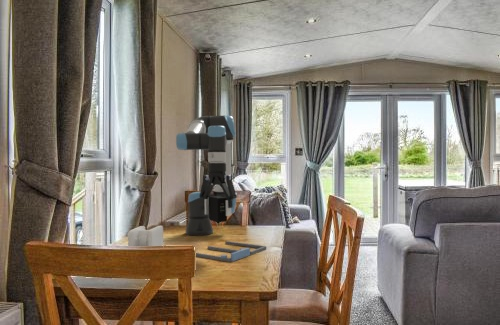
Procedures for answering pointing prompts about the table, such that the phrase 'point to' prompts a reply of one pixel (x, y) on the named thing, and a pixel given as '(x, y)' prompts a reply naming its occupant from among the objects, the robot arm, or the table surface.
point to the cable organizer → (145, 236)
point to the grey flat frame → (233, 251)
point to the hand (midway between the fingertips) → (217, 214)
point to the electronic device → (217, 209)
